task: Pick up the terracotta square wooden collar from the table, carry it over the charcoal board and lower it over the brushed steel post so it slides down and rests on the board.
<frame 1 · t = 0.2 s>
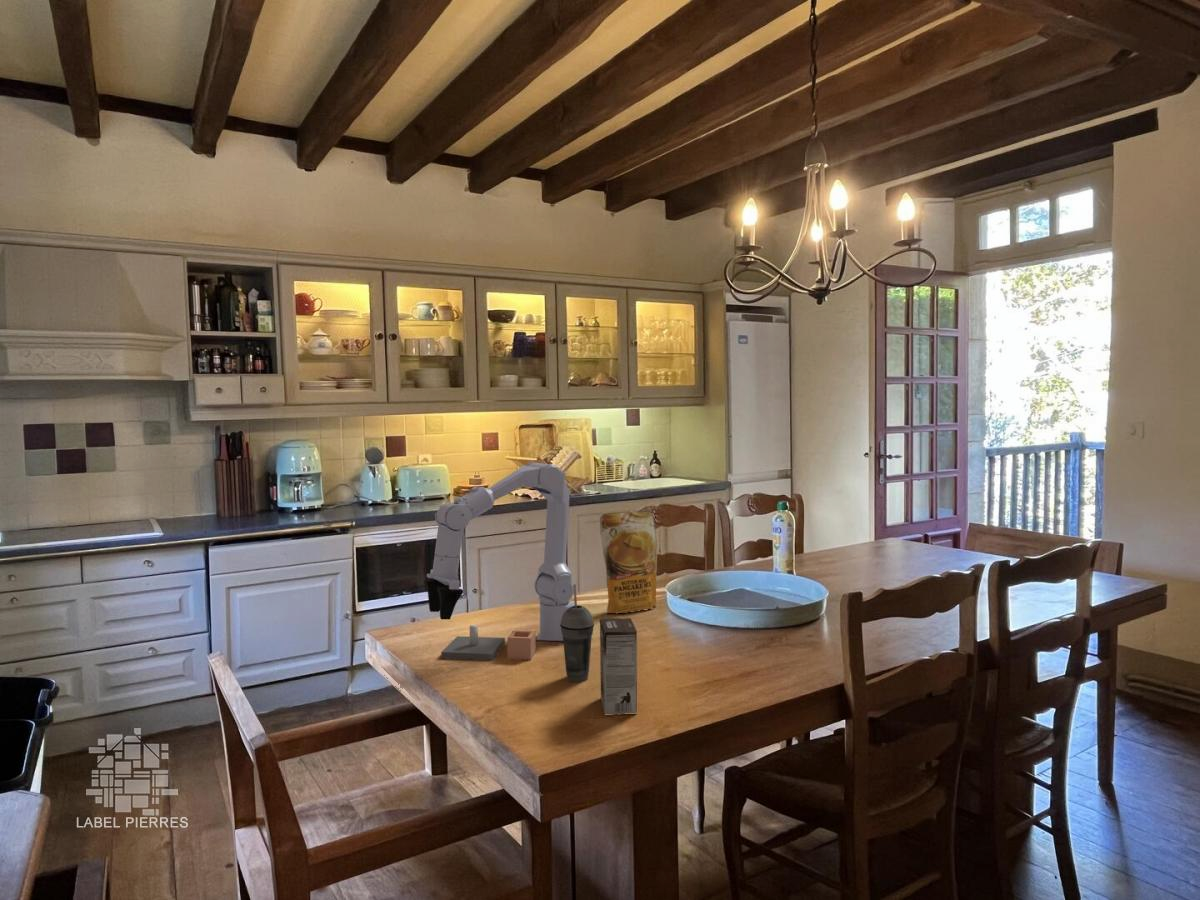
hand: (439, 615, 172), 11 cm above the table, tool pointing down, fingers open, 7 cm apart
coffee box: (618, 707, 146), on the table
post board: (474, 650, 179), on the table
beverage cup: (577, 678, 161), on the table
collar: (521, 655, 176), on the table
pancake mix bag: (630, 610, 215), on the table
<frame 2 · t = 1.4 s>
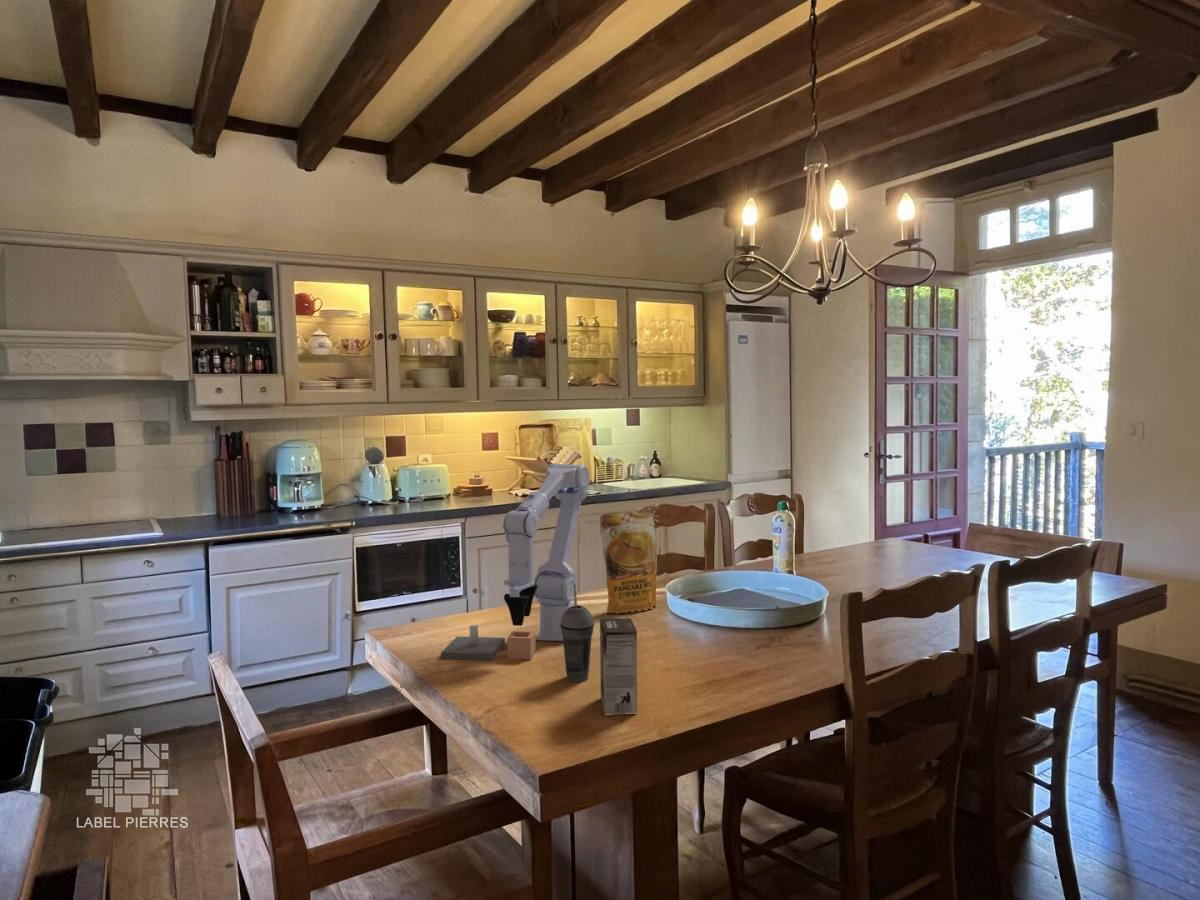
hand: (521, 620, 176), 8 cm above the table, tool pointing down, fingers open, 7 cm apart
nothing on the table moved.
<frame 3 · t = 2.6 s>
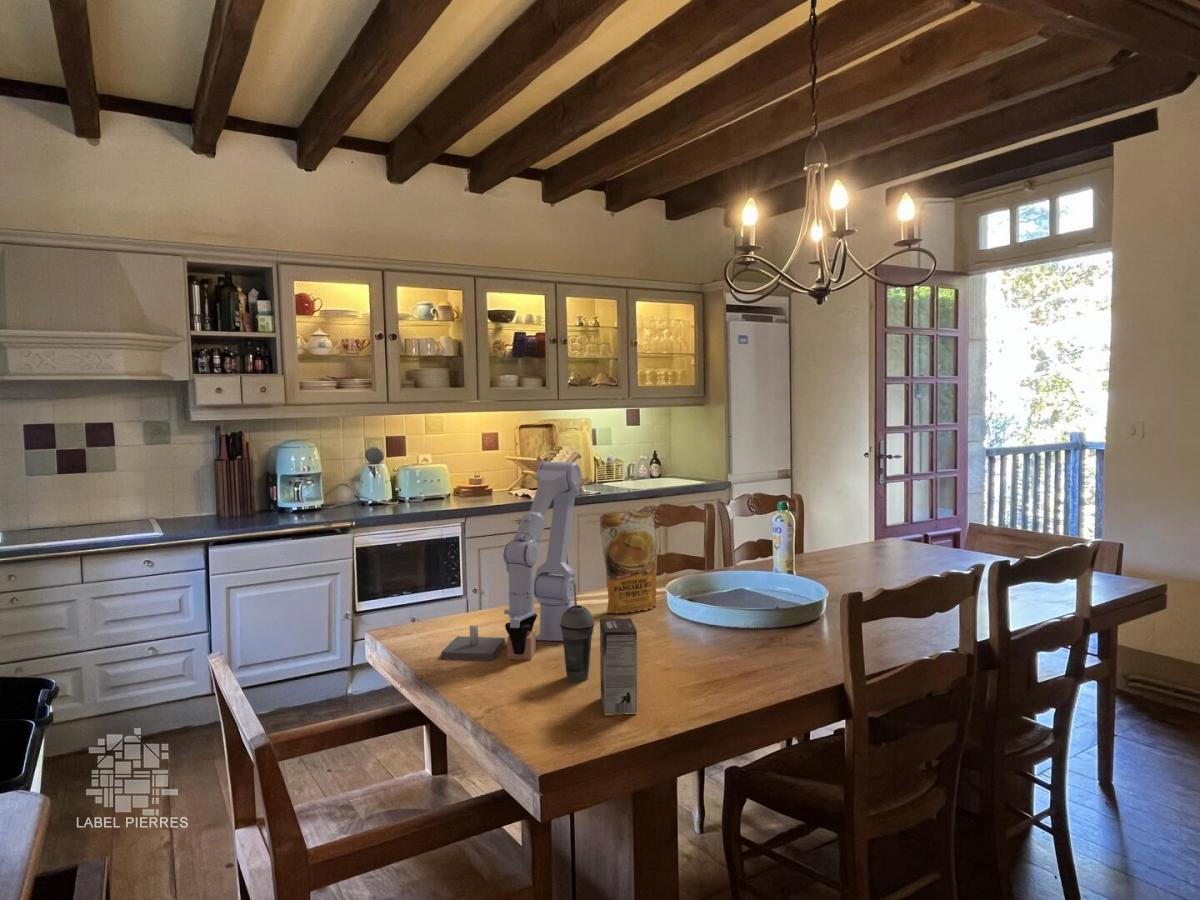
hand: (521, 649, 176), 1 cm above the table, tool pointing down, fingers closed on collar, 5 cm apart
collar: (521, 655, 176), on the table, touching gripper
everything else where it was.
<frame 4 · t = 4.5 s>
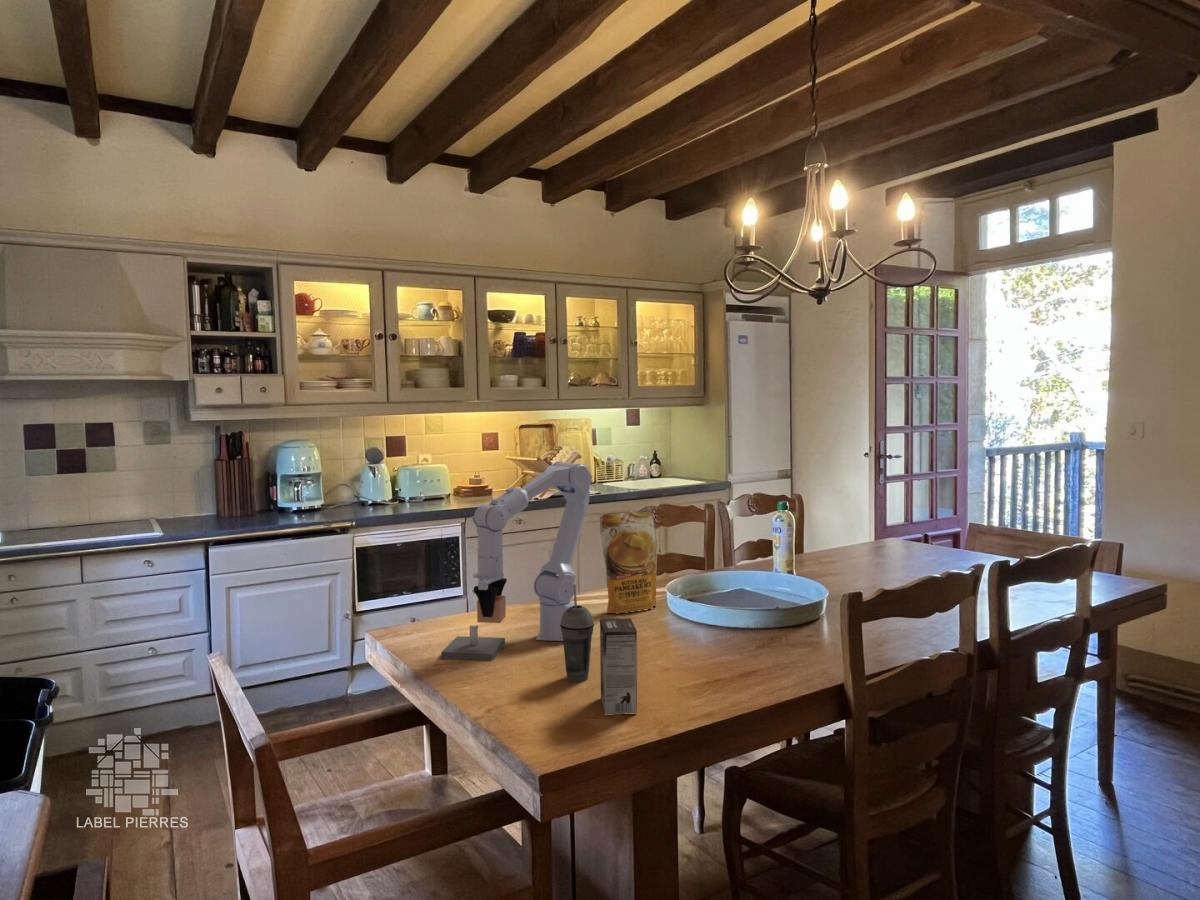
hand: (490, 613, 178), 9 cm above the table, tool pointing down, fingers closed on collar, 5 cm apart
collar: (491, 619, 178), point 8 cm above the table, touching gripper
everything else where it was.
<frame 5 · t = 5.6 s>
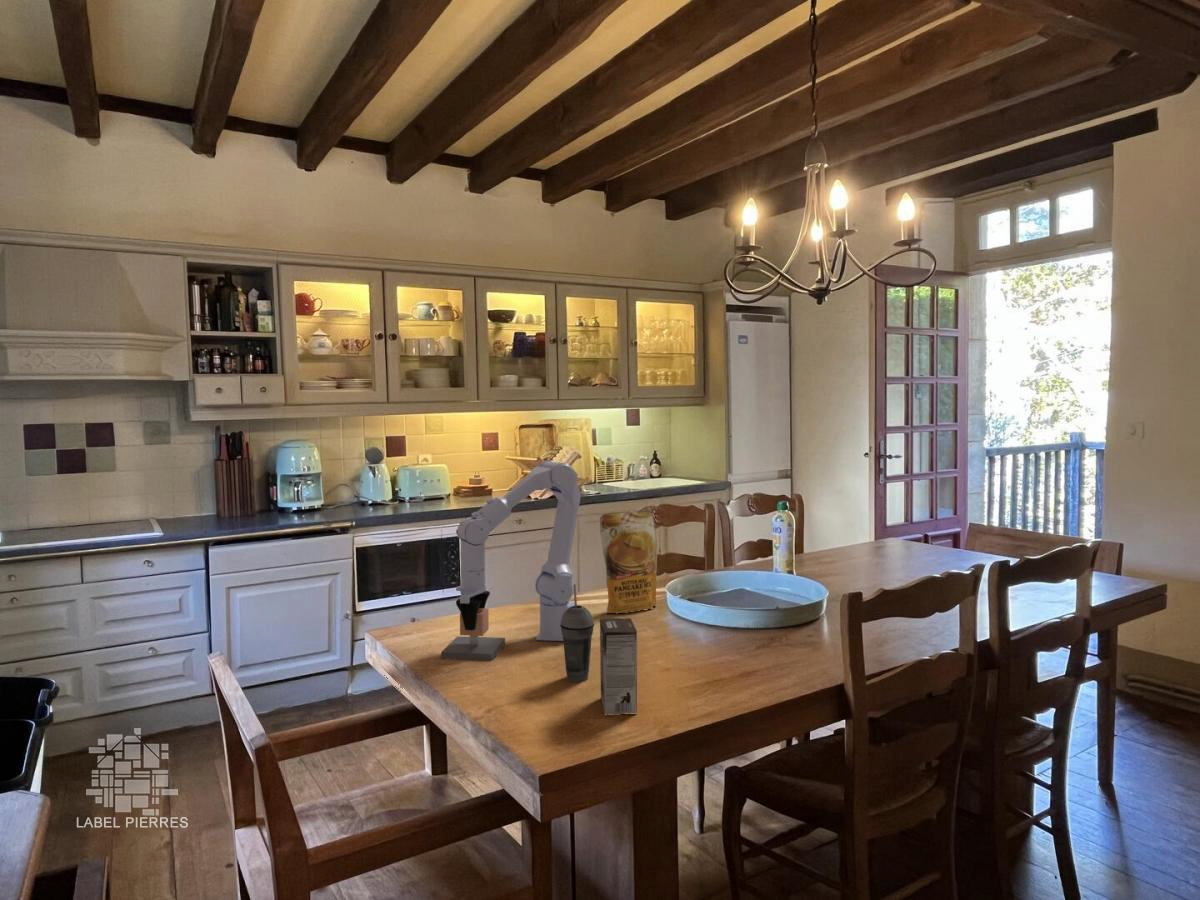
hand: (473, 625, 179), 6 cm above the table, tool pointing down, fingers closed on collar, 5 cm apart
collar: (474, 632, 179), point 5 cm above the table, touching gripper
everything else where it was.
when the fingers open (4 cm above the table, at t = 6.5 s): collar drops 1 cm, resting on post board.
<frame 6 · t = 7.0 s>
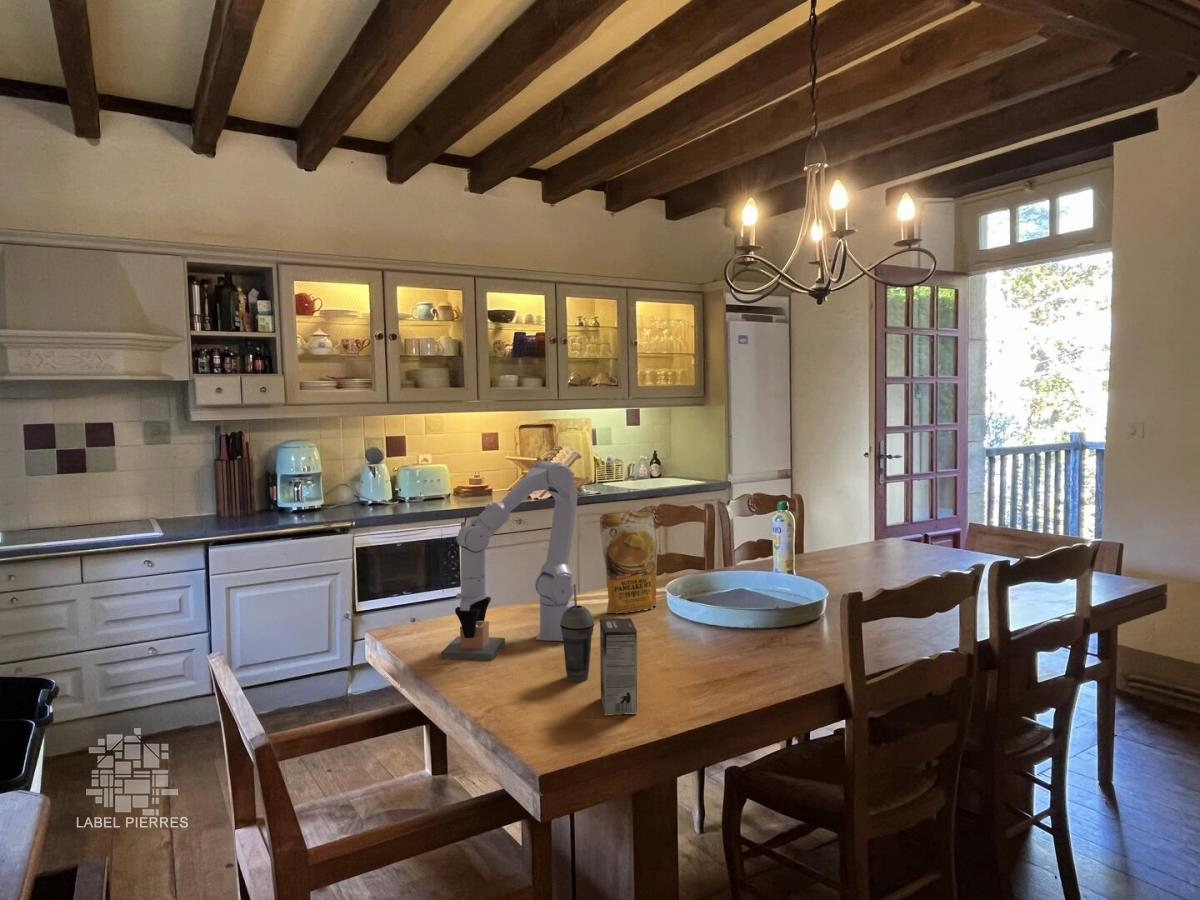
hand: (473, 632, 179), 4 cm above the table, tool pointing down, fingers open, 7 cm apart
collar: (474, 644, 179), point 1 cm above the table, touching post board
everything else where it was.
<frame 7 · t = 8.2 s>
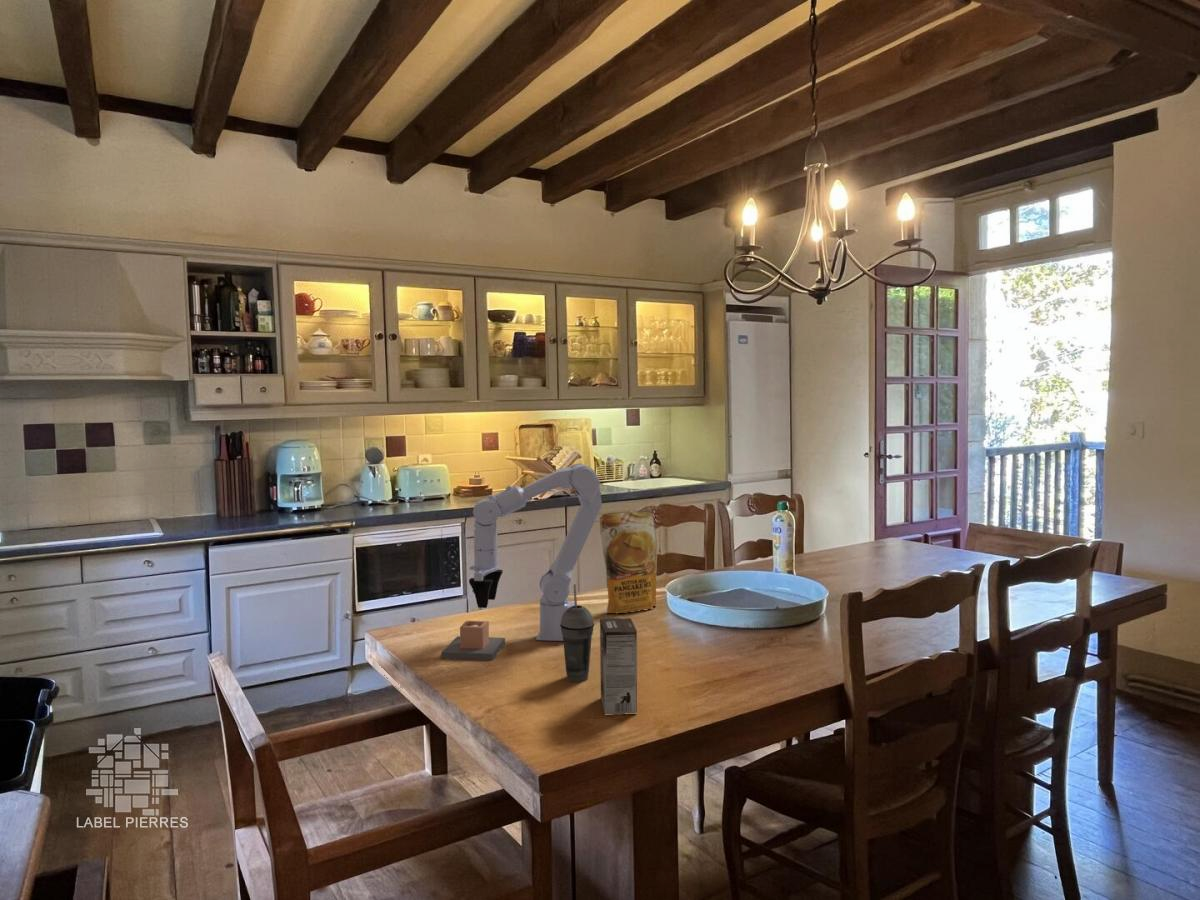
hand: (486, 603, 187), 9 cm above the table, tool pointing down, fingers open, 7 cm apart
nothing on the table moved.
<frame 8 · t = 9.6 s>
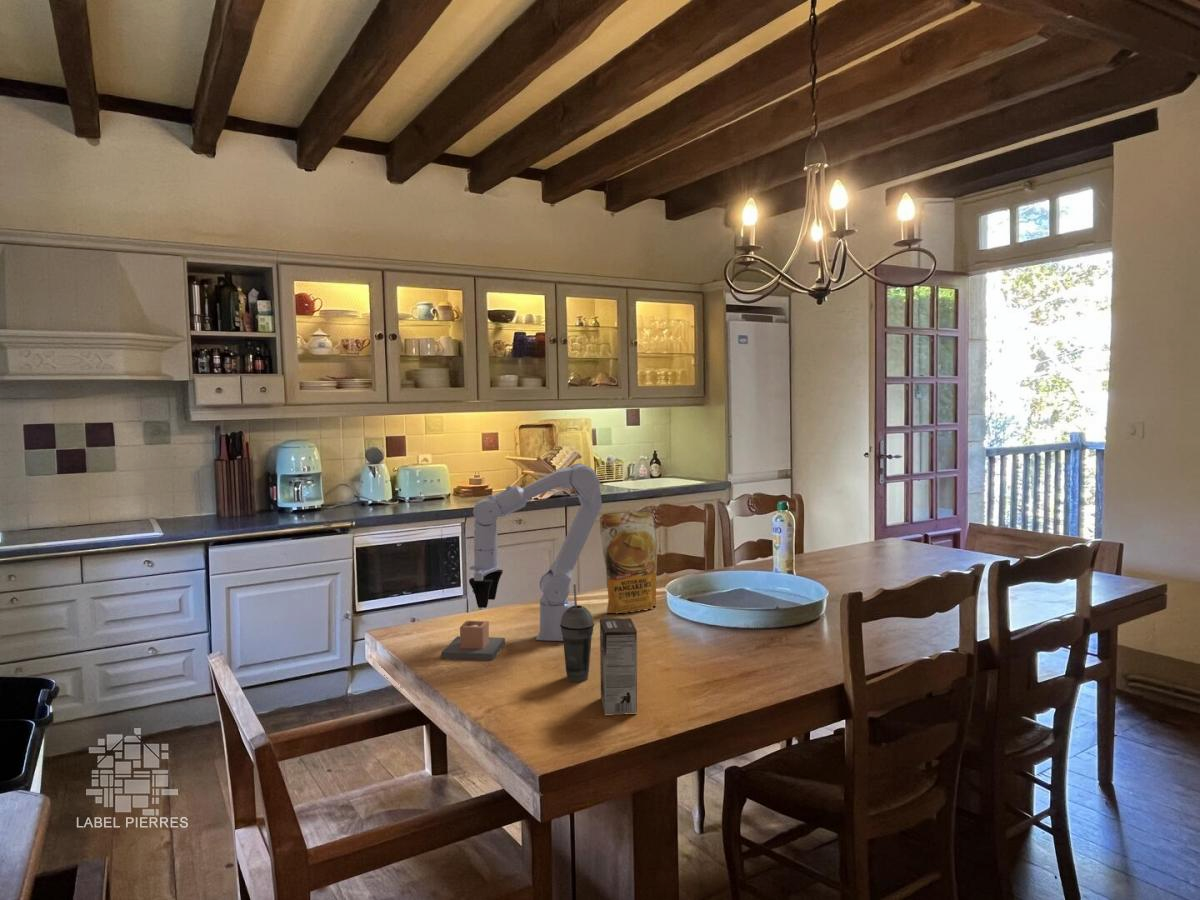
hand: (486, 603, 187), 9 cm above the table, tool pointing down, fingers open, 7 cm apart
nothing on the table moved.
at the end: collar 0.2 cm from the post board (horizontally); collar point 1.5 cm above the table; collar tilted 0° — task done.
